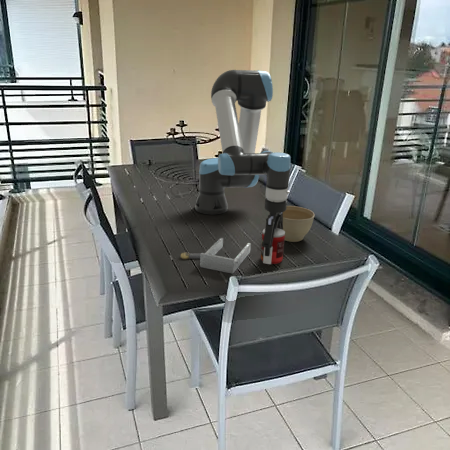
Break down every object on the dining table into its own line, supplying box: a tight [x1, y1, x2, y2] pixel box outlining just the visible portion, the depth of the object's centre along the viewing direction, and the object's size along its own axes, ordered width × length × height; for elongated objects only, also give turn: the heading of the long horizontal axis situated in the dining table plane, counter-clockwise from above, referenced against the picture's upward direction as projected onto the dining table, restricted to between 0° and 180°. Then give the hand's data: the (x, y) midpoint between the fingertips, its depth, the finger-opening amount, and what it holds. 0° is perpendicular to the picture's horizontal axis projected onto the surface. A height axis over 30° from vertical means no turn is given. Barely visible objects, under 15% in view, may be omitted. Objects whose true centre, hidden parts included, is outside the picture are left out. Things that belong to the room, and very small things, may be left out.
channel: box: [199, 237, 252, 274], centre depth 161 cm, size 12×19×5 cm, turn 159°
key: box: [180, 252, 202, 260], centre depth 162 cm, size 8×3×1 cm, turn 94°
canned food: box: [260, 228, 285, 265], centre depth 161 cm, size 8×8×11 cm
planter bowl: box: [283, 205, 315, 243], centre depth 180 cm, size 16×16×11 cm
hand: (271, 256), depth 162 cm, fingers open, 11 cm apart
